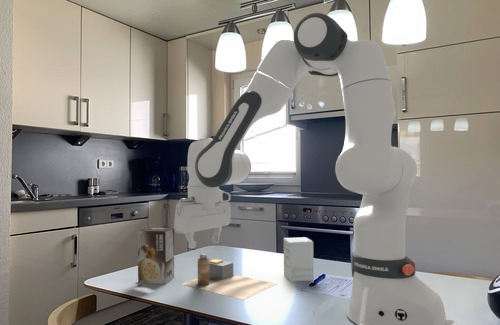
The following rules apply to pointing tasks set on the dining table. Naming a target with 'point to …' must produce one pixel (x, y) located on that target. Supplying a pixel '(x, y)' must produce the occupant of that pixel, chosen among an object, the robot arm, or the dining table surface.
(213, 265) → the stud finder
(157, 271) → the brown food box
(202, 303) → the dining table surface
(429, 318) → the robot arm
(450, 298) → the dining table surface
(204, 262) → the marker peg
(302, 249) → the supplement box
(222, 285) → the plywood board
